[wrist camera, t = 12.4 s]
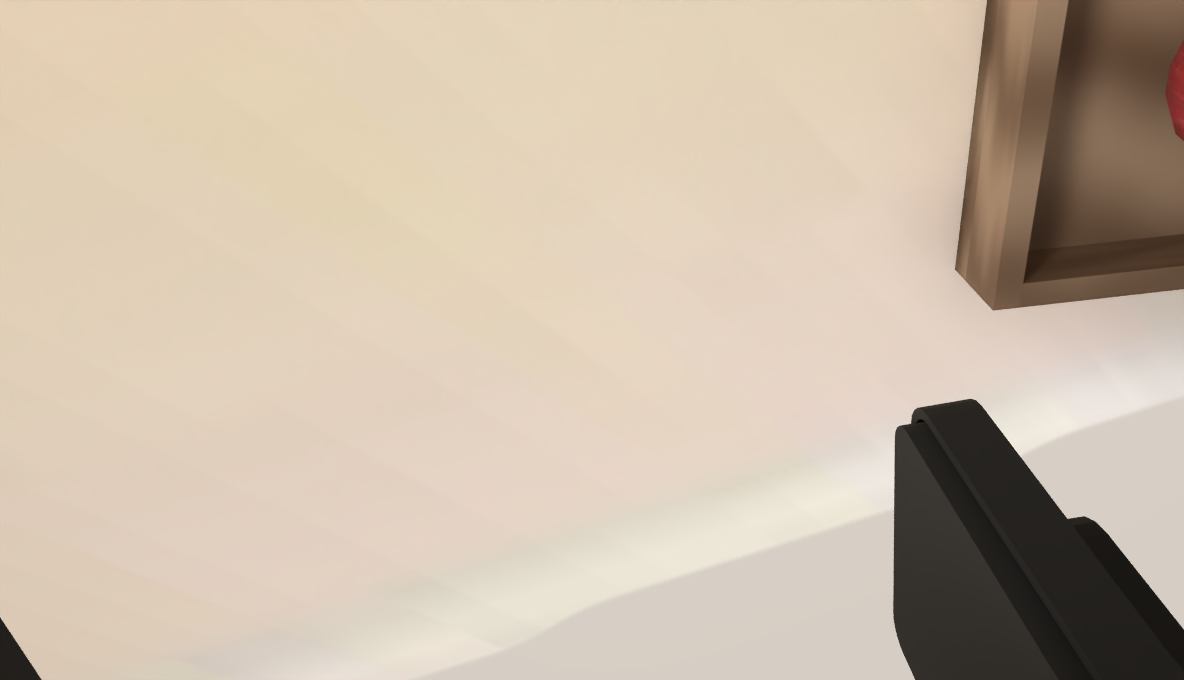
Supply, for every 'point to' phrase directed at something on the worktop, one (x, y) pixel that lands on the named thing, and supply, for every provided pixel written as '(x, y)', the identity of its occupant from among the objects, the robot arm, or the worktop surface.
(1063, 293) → the walnut tray
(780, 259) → the worktop surface
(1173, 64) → the onion
